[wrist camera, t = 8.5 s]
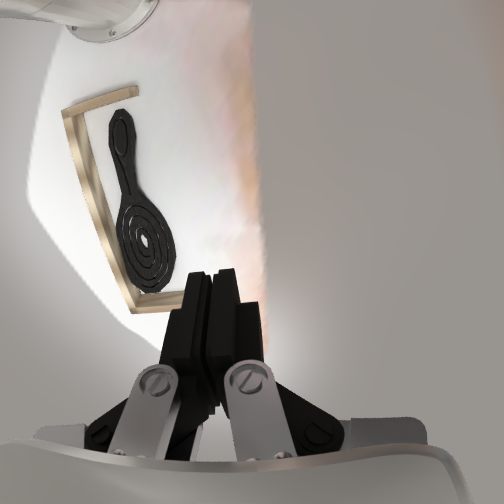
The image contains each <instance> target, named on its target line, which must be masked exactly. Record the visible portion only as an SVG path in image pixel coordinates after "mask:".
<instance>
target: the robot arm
mask: <svg viewBox="0 0 504 504" xmlns="http://www.w3.org/2000/svg"><path fill="white" fill-rule="evenodd" d="M158 1H159V0H153V1H152V2H151V3H149V2H150V0H0V18H16V19H27V20H37V21H45V22H52V23H59V24H65V25H66V26H67V28H68V30H69V31H70V32H71V33H72V34H73V35H74V36H76V37H77V38H79V39H81V40H84V41H88V42H97V43H102V42H109V41H113V40H116V39H119V38H121V37H123V36H125V35H127V34H129V33H130V32H132V31H134V30H135V29H137V28H138V27H139V26H140V25H141V24H142V23H143V22H144V21H145V20H146V19H147V18H148V17H149V16H150V14H151V13H152V12H153V10H154V8H155V7H156V5H157V3H158ZM77 27H78V28H77ZM114 32H116V34H115V35H114ZM220 402H221V404H222V406H223V409H224V411H225V413H226V416H227V418H228V419H230V423H231V429H232V434H233V441H234V446H235V452H236V457H237V462H195V461H196V456H197V452H198V448H199V444H200V439H201V435H202V431H203V422H205V421H206V420H207V419H208V418H209V415H214V414H215V407H216V406H220ZM0 504H474V503H473V499H472V496H471V493H470V490H469V487H468V484H467V481H466V479H465V476H464V474H463V472H462V470H461V468H460V466H459V464H458V463H457V461H456V460H455V459H454V457H453V456H452V455H451V454H450V453H448V452H447V451H445V450H444V449H442V448H439V447H435V446H431V445H428V443H427V431H426V428H425V426H424V424H423V423H422V422H421V421H420V420H418V419H416V418H413V417H393V418H351V420H337V419H336V418H335V417H333V416H332V415H330V414H328V413H326V412H325V411H323V410H321V409H320V408H318V407H316V406H315V405H313V404H311V403H309V402H308V401H306V400H305V399H303V398H301V397H300V396H298V395H296V394H295V393H293V392H292V391H290V390H288V389H287V388H285V387H284V386H282V385H281V384H279V383H277V382H276V381H275V379H274V376H273V373H272V371H271V369H270V367H268V366H267V365H266V364H265V363H264V355H263V341H262V329H261V320H260V312H259V305H258V301H257V302H247V303H241V302H240V297H239V291H238V286H237V280H236V275H235V270H234V268H231V269H221V270H219V273H218V274H214V276H213V284H212V280H211V276H210V275H205V273H204V271H202V272H192V273H189V274H188V278H187V282H186V287H185V292H184V296H183V301H182V305H181V308H179V309H172V310H171V313H170V316H169V320H168V325H167V329H166V333H165V338H164V342H163V346H162V351H161V356H160V361H159V364H156V365H153V366H149V367H148V368H146V369H144V370H143V371H142V372H141V373H140V374H139V375H138V377H137V379H136V381H135V383H134V386H133V388H132V390H131V393H130V395H129V397H128V398H127V399H125V400H124V401H122V402H121V403H119V404H118V405H117V406H115V407H114V408H112V409H111V410H110V411H108V412H107V413H105V414H104V415H102V416H101V417H100V418H98V419H97V420H95V421H94V422H93V423H91V424H90V426H86V425H85V424H75V425H61V426H45V427H41V428H40V429H39V430H37V432H36V433H35V435H34V438H33V439H30V438H17V439H11V440H6V441H3V442H1V443H0Z"/></svg>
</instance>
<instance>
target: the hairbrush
mask: <svg viewBox="0 0 504 504" xmlns="http://www.w3.org/2000/svg"><path fill="white" fill-rule="evenodd" d="M130 116H131V115H130V114H129V113H128V112H127V111H126V110H125V109H119V110H116V111H115V113H114V115H113V117H112V119H111V121H110V123H109V148H110V151H111V155H112V158H113V161H114V164H115V168H116V172H117V176H118V181H119V185H120V189H121V193H122V196H121V205H120V209H119V214H118V218H117V222H116V235H117V239H118V242H119V247H120V248H121V251H120V252H122V254H121V255H122V256H123V262H124V263H125V264H124V265H125V268H126V273H127V275H128V277H129V279H130V281H131V283H132V285H135V286H136V288H139V290H142V291H143V292H144V293H145V294H147V293H155V294H156V292H161V290H162V289H163V288H164V287H165V286H166V285H167V284H168V283H169V282H170V279H171V276H172V273H173V270H174V264H175V259H176V252H175V245H174V241H173V236H172V233H171V230H170V228H169V226H168V224H167V222H166V220H165V218H164V217H163V216H162V214H161V213H160V211H158V210H157V209H156V208H155V207H154V205H153V204H152V203H151V202H150V201H149V200H148V199H147V198H146V197H145V196H144V195H143V194H142V193H141V192H140V191H139V190H138V189H137V186H136V178H135V169H134V152H135V140H136V135H135V129H134V124H133V119H131V117H130ZM120 117H121V118H122V119H123V120H122V119H119V118H120ZM118 119H119V120H118ZM117 120H118V121H117ZM126 154H127V155H126ZM131 205H133V206H132V207H130V206H131ZM128 207H130V208H129V209H128V210H127V208H128ZM126 210H127V212H126ZM125 212H126V214H125ZM124 214H125V215H124ZM136 214H138V215H136ZM133 216H134V217H133ZM123 217H124V223H123ZM131 217H133V218H132V221H131V224H130V227H129V221H130V219H131ZM160 224H161V225H160ZM161 226H162V227H161ZM140 227H141V228H140ZM142 227H143V228H142ZM122 228H123V230H122ZM138 228H139V229H138ZM162 228H163V229H162ZM137 229H138V230H137ZM136 230H137V231H136ZM163 230H164V231H163ZM129 231H130V234H129ZM135 232H137V239H136V233H135ZM148 232H149V233H148ZM164 233H165V234H164ZM141 234H143V235H144V237H145V238H146V239H147V242H148V248H145V246H144V244H143V242H142V240H141V236H142V235H141ZM157 234H158V235H157ZM123 235H124V238H123ZM130 236H131V239H130ZM158 236H159V239H158ZM131 242H132V243H131ZM153 242H154V243H153ZM167 243H168V244H167ZM168 246H169V248H168ZM139 248H140V249H139ZM127 253H128V254H127ZM155 253H156V255H155ZM122 256H121V257H122ZM162 256H163V259H162ZM154 260H155V262H154ZM153 262H154V264H153V265H152V263H153ZM161 263H162V267H161V269H160V266H161ZM167 264H168V269H167V272H166V274H165V271H166V268H167ZM159 269H160V271H159ZM158 271H159V273H158ZM157 273H158V274H157ZM156 274H157V275H156ZM164 274H165V275H164ZM155 275H156V276H155ZM154 276H155V277H154ZM163 276H164V277H163ZM162 277H163V278H162ZM161 278H162V279H161ZM160 279H161V280H160ZM159 280H160V281H159ZM139 292H140V293H141V291H139Z"/></svg>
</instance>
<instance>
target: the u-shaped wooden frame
mask: <svg viewBox="0 0 504 504" xmlns="http://www.w3.org/2000/svg"><path fill="white" fill-rule="evenodd" d="M138 95H139V93H138V88H137V86H131V87H126V88H123V89H120V90H116V91H113V92H110V93H107V94H104V95H101V96H98V97H95V98H92V99H90V100H87V101H84V102H81V103H79V104H76V105H74V106H71V107H68V108H66V109H63V110H61V113H62V117H63V122H64V126H65V130H66V134H67V138H68V142H69V146H70V150H71V153H72V157H73V161H74V164H75V168H76V171H77V174H78V178H79V181H80V184H81V187H82V191H83V194H84V197H85V200H86V203H87V206H88V209H89V212H90V214H91V217H92V220H93V223H94V226H95V228H96V231H97V234H98V236H99V239H100V242H101V244H102V247H103V249H104V252H105V255H106V257H107V259H108V262H109V264H110V267H111V269H112V272H113V274H114V276H115V279H116V281H117V283H118V286H119V288H120V290H121V292H122V294H123V297H124V299H125V301H126V303H127V305H128V308H129V310H130V312H131V314H142V313H157V312H170V311H171V310H172V309H179V308H181V305H182V301H183V296H184V292H185V291H178V292H167V293H156V294H145V295H141V294H140V292H139V289H138V288H136V286H135V285H132V283H131V281H130V279H129V277H128V275H127V273H126V268H125V265H124V264H125V263H124V262H123V256H122V255H121V254H122V252H120V251H121V248H120V247H119V242H118V239H117V235H116V229H115V226H114V223H113V220H112V217H111V214H110V211H109V208H108V205H107V202H106V198H105V195H104V192H103V189H102V185H101V182H100V179H99V175H98V172H97V168H96V165H95V161H94V157H93V153H92V150H91V146H90V142H89V138H88V134H87V130H86V125H85V121H84V117H83V113H84V112H87V111H89V110H92V109H95V108H98V107H101V106H104V105H107V104H111V103H114V102H117V101H120V100H124V99H127V98H131V97H134V96H138ZM121 256H122V257H121Z"/></svg>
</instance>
